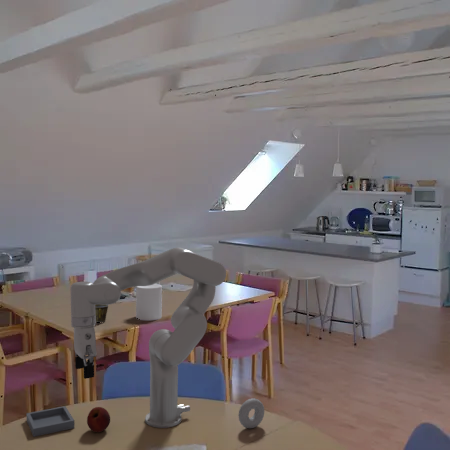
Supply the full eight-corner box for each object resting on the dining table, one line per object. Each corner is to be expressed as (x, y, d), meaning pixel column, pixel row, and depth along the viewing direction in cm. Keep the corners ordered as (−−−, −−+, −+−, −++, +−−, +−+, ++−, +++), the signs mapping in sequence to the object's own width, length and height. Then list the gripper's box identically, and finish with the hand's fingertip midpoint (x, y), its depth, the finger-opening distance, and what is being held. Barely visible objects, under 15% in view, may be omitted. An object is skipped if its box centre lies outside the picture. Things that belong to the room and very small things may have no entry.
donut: (260, 422, 177) (261, 394, 177) (266, 426, 174) (266, 397, 174) (236, 428, 172) (236, 400, 171) (241, 433, 169) (242, 403, 169)
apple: (81, 433, 167) (81, 409, 167) (97, 423, 174) (97, 400, 174) (99, 438, 164) (99, 413, 163) (114, 428, 171) (115, 405, 170)
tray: (65, 413, 182) (65, 405, 181) (74, 427, 170) (74, 420, 170) (26, 420, 175) (26, 413, 175) (33, 436, 164) (33, 428, 164)
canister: (165, 318, 319) (166, 287, 317) (141, 321, 311) (141, 289, 309) (155, 313, 332) (156, 282, 331) (132, 315, 324) (132, 284, 323)
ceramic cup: (90, 320, 311) (90, 304, 311) (107, 319, 314) (107, 303, 314) (91, 325, 299) (91, 308, 298) (109, 324, 302) (109, 307, 301)
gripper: (103, 325, 158) (104, 379, 159) (87, 313, 173) (88, 362, 174) (79, 328, 154) (80, 384, 155) (64, 316, 169) (66, 366, 170)
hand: (84, 372), depth 165 cm, fingers open, 9 cm apart
